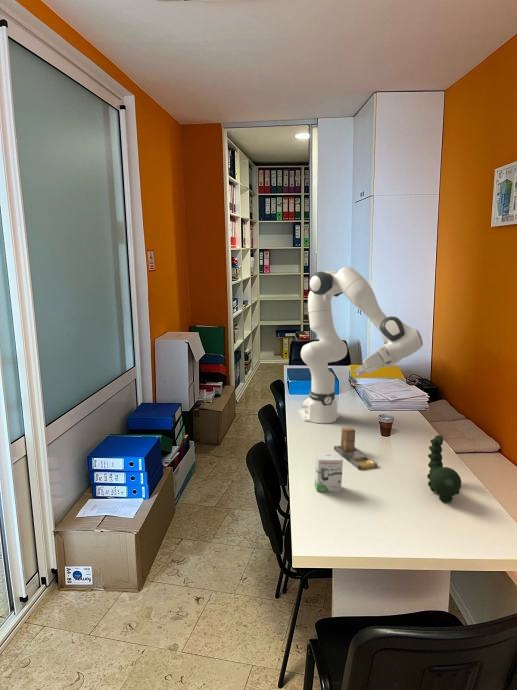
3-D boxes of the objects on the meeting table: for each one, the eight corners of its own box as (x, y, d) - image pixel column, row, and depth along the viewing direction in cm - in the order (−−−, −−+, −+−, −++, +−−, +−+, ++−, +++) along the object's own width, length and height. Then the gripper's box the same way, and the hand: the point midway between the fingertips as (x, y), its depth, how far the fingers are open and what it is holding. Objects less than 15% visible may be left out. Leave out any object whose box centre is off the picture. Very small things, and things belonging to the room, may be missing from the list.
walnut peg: (340, 451, 206) (341, 427, 204) (349, 449, 207) (350, 426, 205) (345, 454, 202) (346, 431, 200) (354, 453, 203) (355, 430, 201)
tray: (334, 449, 207) (334, 446, 207) (351, 447, 210) (351, 444, 209) (358, 469, 188) (359, 466, 188) (377, 467, 191) (377, 463, 191)
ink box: (316, 492, 171) (317, 459, 169) (314, 485, 176) (315, 453, 173) (341, 492, 171) (343, 459, 169) (339, 485, 176) (340, 453, 174)
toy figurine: (419, 480, 184) (435, 509, 159) (422, 430, 182) (439, 451, 157) (446, 482, 183) (466, 511, 158) (449, 432, 181) (470, 453, 156)
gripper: (382, 353, 215) (354, 369, 217) (380, 346, 196) (349, 364, 198) (390, 366, 214) (361, 382, 216) (389, 360, 194) (357, 377, 196)
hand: (355, 373), depth 207 cm, fingers open, 8 cm apart
